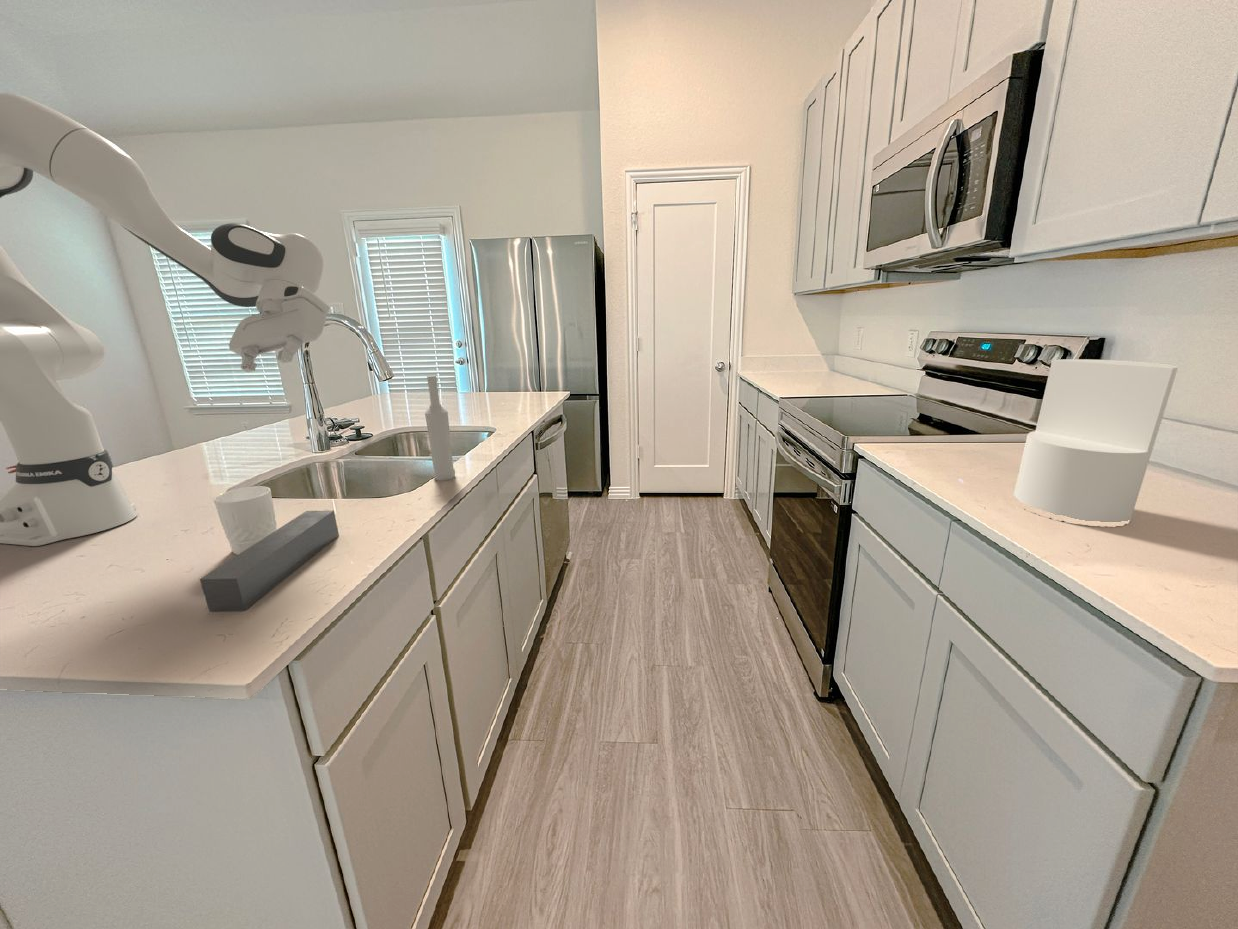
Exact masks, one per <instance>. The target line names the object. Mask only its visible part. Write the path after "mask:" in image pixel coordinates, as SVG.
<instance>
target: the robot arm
mask: <svg viewBox="0 0 1238 929" xmlns="http://www.w3.org/2000/svg"><path fill="white" fill-rule="evenodd" d="M34 172H35V173H37V174H39V175H40V176H42V177H44V178H45V179H48V180H49V181H51V182H53V183H54V184H57V185H58V186H60V187H62V188H64V189H65V190H67V192H71V193H72V194H73V195H75V196H77V197H79V198H80V199H82V200H83V201H85V202H86V203H88V204H90V205H91V206H93V207H94V208H96V209H97V210H99V211H100V212H102V213H103V214H105V215H106V216H108V217H109V218H111V220H113V221H115V223H117V224H118V225H120V227H122V228H124V229H125V230H126V231H127V232H129V233H130V234H132V235H133V236H134V237H136V238H137V239H139V240H140V241H142V242H143V243H144V244H146V245H148V246H149V247H151V248H152V249H153V250H156V251H157V252H159V253H160V254H161V255H163V256H165V257H166V258H168V259H169V260H171V261H172V262H174V263H176V264H177V265H179V266H180V267H181V268H183V269H185V270H186V271H188V272H189V273H191V274H193V275H194V276H196V277H198V279H200V280H202V281H203V282H204V283H205V284H206V285H207V286H208V287H209V288H210V289H211V290H212V291H213V293H215V294H216V295H217V296H218V297H219V298H220V299H221V300H223V301H224V302H227V303H228V304H231V305H234V306H236V307H242V308H243V307H244V308H252V307H255V308H256V310H257V311H258V312H259V313H257V314H251V315H250V316H247V317H245V318H243V319H242V320H240V321H239V323H238V324H237V326H236V328H235V330H234V333H233V334H232V337H231V339H230V341H229V343H228V349H229V350H230V351H231V352H232V353H235V354H236V355H238V356H239V357H241V363H240V364H241V365H240V369H241V370H242V371H244V372H246V373H251V372H252V373H253V372H255V371H256V368H257V366H258V364H257V363H256V362H255V359H257V356H259V355H261V356H262V355H264V354H267V353H271V352H276V351H278V355H277V358H276V359H277V361H279V362H281V363H282V364H287V363H291V362H292V361H293V358H294V356H295V354H296V353H297V352H298V351H299V349H300V348H302V345H303V344H306V343H310V342H314V341H316V340H318V339H319V338H320V336H322V333H323V331H324V329H325V328H324V327H325V324H326V320H327V315H328V314H329V312H330V306H329V305H328V304H327V303H326V302H325V301H324V300H322V299H321V298H320V297H318V296H317V295H316V294H315V293H316V292H317V291H318V289H319V288H320V287H319V286H320V284H321V279H322V277H323V276H322V275H323V268H324V261H323V260H324V259H323V255H322V253H321V251H320V250H319V248H318V246H317V245H316V244H315V243H313V241H311V239H308V238H307V237H305V236H303V235H301V234H299V233H294V232H287V233H283V234H281V233H280V234H275V233H270V232H264V231H261V230H258V229H256V228H255V227H252V226H249V225H246V224H243V223H234V222H233V223H231V222H230V223H229V222H228V223H226V224H221V225H219V226H217V227H216V228H215V229H214V230H213V231H212V233H211V235H210V246H208V245H207V244H205V243H204V242H202V241H201V240H198V238H196V237H195V236H192V234H190V233H188V232H187V231H186V230H184V229H182V228H181V227H180V226H179V225H177V223H175V222H174V221H173V220H172V219H171V218H170V216H169V215H168V214H167V212H166V211H165V210H164V209H163V206H162V205H161V204H160V202H159V200H158V199H157V197H156V195H155V193H154V191H153V189H152V187H151V185H150V183H149V181H148V178H147V177H146V175H145V173H144V171H143V169H142V168H141V167H140V165H139V164H138V163H137V162H136V161H135V160H134V159H133V158H132V157H131V156H130V155H128V154H127V153H126V152H125V151H123V150H122V149H121V148H120V147H118V146H117V145H116V144H114V143H113V142H112V141H110V140H109V139H106V138H105V137H103V136H102V135H100V134H99V133H97V132H95V131H93V130H92V129H90V128H88V127H86V126H85V125H83V124H82V123H80V122H78V121H76V120H74V119H72V118H70V117H69V116H67V115H65V114H63V113H61V112H59V111H58V110H55V109H53V108H51V107H50V106H48V105H45V104H43V103H41V102H39V101H36V100H34V99H32V98H30V97H27V96H25V95H23V94H17V93H13V92H1V93H0V199H1V198H2V197H4V196H8V195H12V194H15V193H18V192H20V191H22V190H24V189H25V188H26V187H28V185H30V183H31V182H32V180H33V177H34ZM104 349H105V348H104V345H103V343H102V342H101V340H100V339H99V337H98V336H97V335H96V334H95V333H93V331H91V330H90V329H88V328H86V327H85V326H82V325H80V324H78V323H77V322H74V321H73V320H71V319H70V318H69V317H68V316H66V315H64V314H63V313H62V312H60V311H59V310H58V309H57V308H56V307H55V306H54V305H52V304H51V303H50V302H49V301H48V300H47V299H46V298H45V297H44V296H43V295H41V293H39V291H38V290H36V289H35V287H33V286H32V285H31V284H30V282H29V281H28V280H27V279H26V278H25V277H24V275H23V274H22V273H21V271H20V270H19V268H18V267H17V266H16V264H15V262H13V260H12V259H11V257H10V255H9V254H8V252H7V251H6V250H5V249H4V247H3V246H2V245H1V243H0V424H1V425H2V427H3V428H4V430H5V431H4V432H6V435H7V437H8V440H9V442H10V444H11V446H12V449H13V451H14V454H15V456H16V458H17V460H18V462H17V463H16V464H15V465H13V466H12V465H11V466H8V467H6V468H5V469H6V470H9V469H11V470H10V471H8V472H7V473H8V474H13V473H15V484H14V485H13V486H12V487H11V488H10V489H9V490H8V491H7V492H6V493H5V494H3V495H2V496H1V497H0V544H6V545H7V544H8V545H16V546H18V545H19V546H27V547H28V546H31V547H37V546H43V545H47V544H51V543H55V542H60V541H63V540H68V539H74V538H78V537H83V536H87V535H91V534H95V533H98V532H99V533H100V532H103V531H107V530H110V529H113V528H116V527H118V526H121V525H123V524H125V523H128V522H130V521H131V520H133V519H134V518H136V517H137V516H138V512H137V510H136V508H137V507H136V504H135V502H130V500H129V497H128V495H127V493H126V490H125V489H124V487H123V484H122V483H121V481H120V479H119V477H118V475H117V474H116V473H115V472H114V471H113V468H114V464H113V462H112V457H111V455H110V454H109V452H108V450H106V449H105V448H104V446H103V443H102V440H101V436H100V434H99V431H98V427H97V425H96V422H95V419H94V417H93V414H92V413H91V411H89V409H87V408H85V407H83V406H82V405H79V404H76V403H74V402H73V401H72V400H71V399H70V398H69V397H67V395H66V394H65V393H64V392H63V390H62V389H61V387H60V386H59V385H58V383H57V381H62V380H70V379H74V378H78V377H80V376H83V375H85V374H88V373H91V372H93V371H95V370H96V369H98V368H99V367H100V366H101V364H103V361H104V359H105V350H104Z"/></svg>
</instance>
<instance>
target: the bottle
mask: <svg viewBox="0 0 1238 929" xmlns="http://www.w3.org/2000/svg"><path fill="white" fill-rule="evenodd" d="M426 379H427V385H428V390H429V391H428V392H429V400H430V404H429V408H428V409H427V410H426V411H425V412H424V415H425V422H426V428H427V434H428V440H429V441H428V442H429V448H430V454H431V459H432V460H431V461H432V465H433V466H432V468H433V471H432V474H433V478H434V480H435V481H443V482H444V481H449V480H452V479H454V478H455V476H456V470H455V468H454V463H453V462H454V460H453V453H452V452H453V451H452V444H451V443H452V442H451V433H450V432H451V430H450V423H449V422H450V421H449V412H448V410H447V409H446V408H445V407H443V406H442V404H441V403H440V398H439V397H440V396H439V389H438V380H437V375H427V376H426Z"/></svg>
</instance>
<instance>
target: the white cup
mask: <svg viewBox="0 0 1238 929" xmlns="http://www.w3.org/2000/svg"><path fill="white" fill-rule="evenodd" d="M213 503H214V505H215V509H216V511H217V514H218V517H219V518H218V519H219V521H220V523H221V526H222V528H223V531H224V534H225V538H227V540H228V543H229V546H230V549H231V551H232V553H233V554H234V555H235V556H237V555H238V554H240V553H241V552H243V551H245V550H246V549H248V548H249V547H251V546H252V545H254V544H256V543H257V542H259V541H260V540H262V539H263V538H265V537H266V536H268V535H270V534H271V533H273V532H274V531H276V530H277V529H278V527H277V521H276V513H275V508H274V502H273V498H272V491H271V487H268V486H263V485H261V486H257V485H255V486H247V487H239V488H237V489H236V488H235V489H231V490H229V491H225V492H222V493H220V494H218V495H216V496H215V497H214V498H213Z"/></svg>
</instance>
